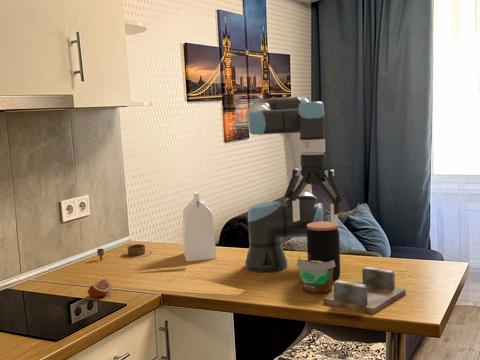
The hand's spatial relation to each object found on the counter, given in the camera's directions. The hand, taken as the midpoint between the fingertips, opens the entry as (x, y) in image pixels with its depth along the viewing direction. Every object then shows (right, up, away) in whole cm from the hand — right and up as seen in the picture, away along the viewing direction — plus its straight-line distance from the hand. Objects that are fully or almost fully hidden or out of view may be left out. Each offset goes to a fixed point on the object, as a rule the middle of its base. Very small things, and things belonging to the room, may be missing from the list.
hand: (315, 222), depth 179 cm
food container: (0, -22, +2) cm, 22 cm away
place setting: (-69, -19, +58) cm, 92 cm away
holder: (+14, -22, -6) cm, 27 cm away
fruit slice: (-68, -24, +9) cm, 72 cm away
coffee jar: (+5, -20, +17) cm, 27 cm away
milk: (-39, -18, +51) cm, 66 cm away
